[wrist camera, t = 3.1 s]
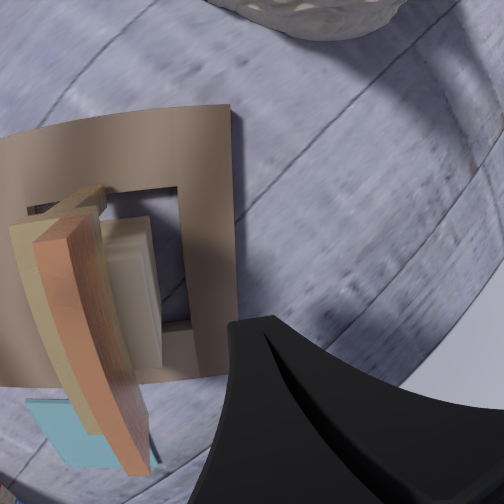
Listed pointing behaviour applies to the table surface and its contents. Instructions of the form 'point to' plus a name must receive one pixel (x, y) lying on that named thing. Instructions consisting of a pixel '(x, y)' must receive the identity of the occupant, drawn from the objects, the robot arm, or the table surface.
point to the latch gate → (83, 321)
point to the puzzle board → (123, 180)
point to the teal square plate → (74, 436)
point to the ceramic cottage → (317, 16)
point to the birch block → (135, 287)
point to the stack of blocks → (7, 496)
